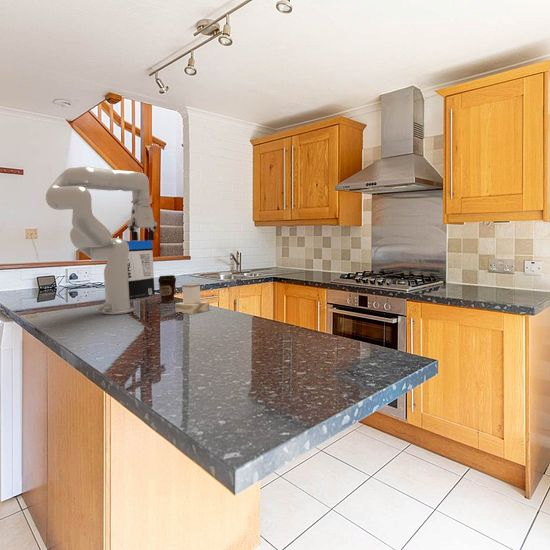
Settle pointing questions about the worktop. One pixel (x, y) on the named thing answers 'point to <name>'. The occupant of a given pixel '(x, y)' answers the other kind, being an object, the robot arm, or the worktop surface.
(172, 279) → the coffee cup
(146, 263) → the protein powder
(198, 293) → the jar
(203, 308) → the block
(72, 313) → the worktop surface
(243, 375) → the worktop surface
